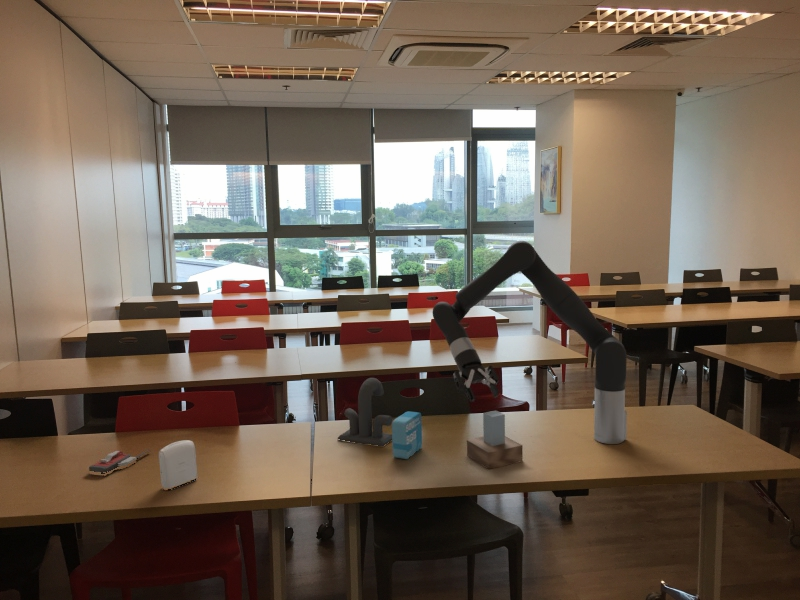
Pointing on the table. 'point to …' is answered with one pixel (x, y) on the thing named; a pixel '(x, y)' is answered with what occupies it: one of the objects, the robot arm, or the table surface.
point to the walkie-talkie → (113, 461)
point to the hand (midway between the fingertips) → (485, 398)
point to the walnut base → (494, 452)
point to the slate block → (494, 428)
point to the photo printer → (177, 463)
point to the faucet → (367, 418)
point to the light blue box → (406, 434)
